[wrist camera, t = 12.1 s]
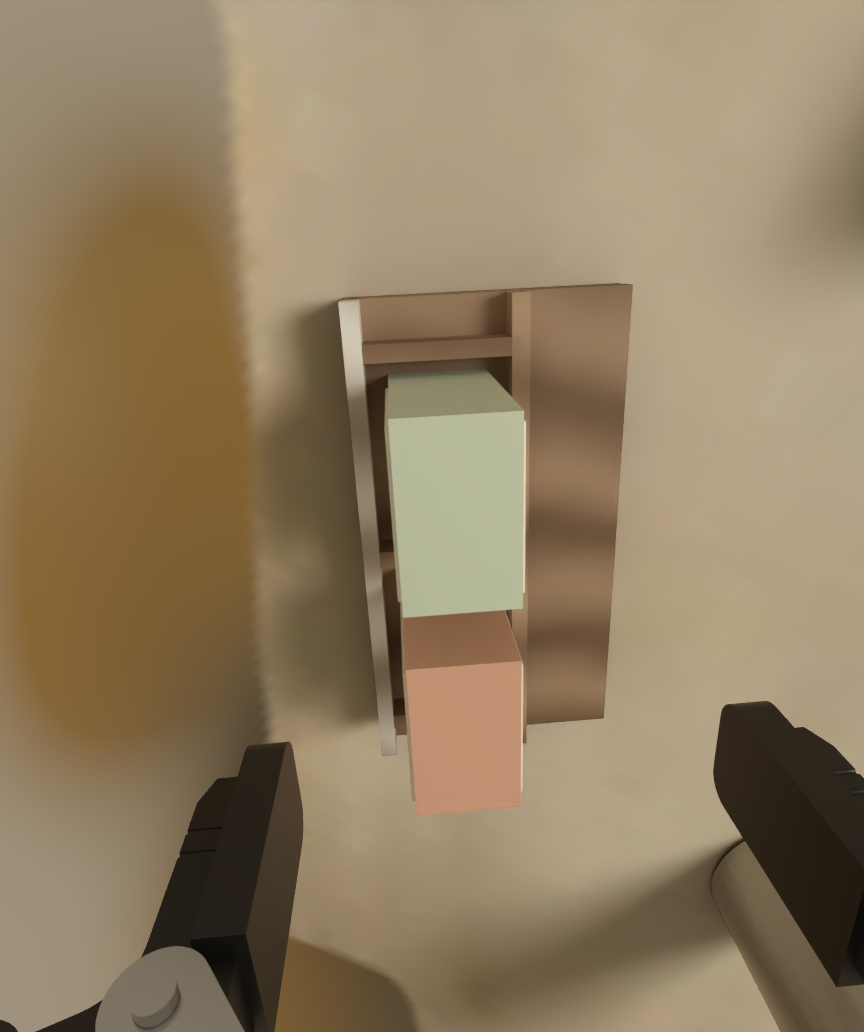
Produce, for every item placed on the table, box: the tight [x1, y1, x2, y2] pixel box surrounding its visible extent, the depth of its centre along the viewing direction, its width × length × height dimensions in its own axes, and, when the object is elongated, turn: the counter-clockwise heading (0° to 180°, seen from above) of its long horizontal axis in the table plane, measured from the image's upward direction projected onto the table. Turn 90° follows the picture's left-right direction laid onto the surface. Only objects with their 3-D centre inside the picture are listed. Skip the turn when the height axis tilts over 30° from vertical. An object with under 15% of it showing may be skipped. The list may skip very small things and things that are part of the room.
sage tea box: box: [384, 369, 526, 618], centre depth 26 cm, size 8×5×9 cm, turn 3°
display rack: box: [338, 283, 633, 756], centre depth 33 cm, size 24×13×4 cm, turn 3°
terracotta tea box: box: [400, 602, 523, 816], centre depth 30 cm, size 8×5×9 cm, turn 3°
